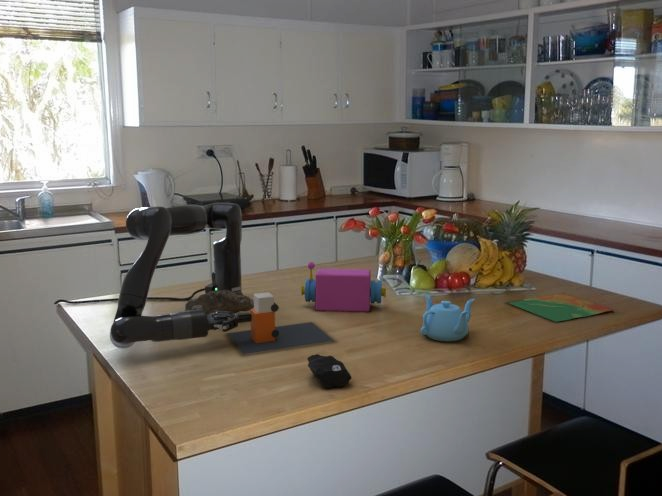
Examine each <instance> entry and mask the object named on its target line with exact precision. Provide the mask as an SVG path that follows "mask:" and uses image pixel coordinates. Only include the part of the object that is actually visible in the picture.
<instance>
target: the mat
mask: <svg viewBox="0 0 662 496" xmlns="http://www.w3.org/2000/svg"><path fill="white" fill-rule="evenodd" d="M275 328H276V329H277V330H278V331H279V335H278V336H277V337H275V341H270V342H263V343H255V342H254V341H253V339H252V338H251V329H250V330H242V331H236V332H229V333H227V335H228V336H229V338H230V339H231V340H232V341H233V343H234V344H235V345H236V347H238V349H239V350H240V351H241V353H242V354H243V355H247V354H254V353H261V352H262V353H263V352H268V351H269V352H270V351H275V350H282V349H288V348H289V349H290V348H297V347H303V346H309V345H315V344H323V343H331V342H335V340H334V339H333V338H332V337H330V336H329V335H328V334H326V333H325V332H324V331H323V330H322V329H320V328H319V327H318V326H317V325H316V324H314V323H313V322H311V321H310V322H303V323H297V324H296V323H295V324H288V325H287V324H286V325H281V326H275Z"/></svg>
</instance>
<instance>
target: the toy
mask: <svg viewBox="0 0 662 496" xmlns="http://www.w3.org/2000/svg"><path fill="white" fill-rule="evenodd" d="M315 267H316V264H315V262H313V261H309V262H308V263H307V268H308V269H309V270H310V272H309V278H306V279H305V283H304V285H301V288H300V291H301V292H300V293H301V296H304V301H305V302H306V303H311V302H312V303H315V310H316V311H319V312H320V311H327V312H359V313H361V312H363V313H365V312H370V310H371V304H375V303H376V304H378V305H379V304H382V297H384V298H386V297H387V287H386V286H385V287H382V286H383V285H382V281H383V280H377V281H376V280H371V277H372V276H371V272H372V271H371V269H359V268H358V269H357V268H354V269H353V268H318V269H317V270H316V272H315V275H314V277H315V278H313V269H314V268H315Z"/></svg>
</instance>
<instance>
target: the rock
mask: <svg viewBox="0 0 662 496" xmlns="http://www.w3.org/2000/svg"><path fill="white" fill-rule="evenodd" d="M307 367H308V368H309V370H310V371H311V373H312V375H313V376H315V378H316V379H317V381H318V382H319V384H321V385H322V387H323V388H325V389H330V388H332V387H333V388H334V387H338V388H341V387H344V386H345V385H346V384H349V382H350V381H351V380H352V378H353V377H352V375H351V373H350V372H349V371H348V369H347V368H346V366H345V364H344V363H343V361H342V360H338V359H337V358H335V356H333V355H321V354H319V353H316V354H312V355H310V356H308V357H307Z"/></svg>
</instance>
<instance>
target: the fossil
mask: <svg viewBox="0 0 662 496" xmlns="http://www.w3.org/2000/svg"><path fill="white" fill-rule="evenodd" d="M184 305H185V307H184V310H183V311H190V310H198V309H204V310H205V311H206V314H207V315H208V314H212V313H213V311H214V310H218V311H230V312H233V313H237V314H238V313H241V312H249V311H250V309H254V300H253V299H251V298H250V297H249V296H247V295H244V293H243V292H242V293H241V292H233V291H230V290H220V291H219V290H217V291H216V290H214V291H210V292H208V293H203V294H201V295H199V296H198V297H193V298H191V299H189V300H187V302H186V303H185V304H184Z"/></svg>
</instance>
